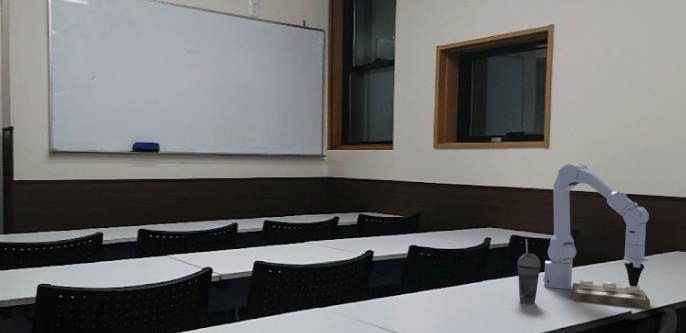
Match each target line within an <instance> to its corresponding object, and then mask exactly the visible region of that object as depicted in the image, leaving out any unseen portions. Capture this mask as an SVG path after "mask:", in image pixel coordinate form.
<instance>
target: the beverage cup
mask: <svg viewBox="0 0 686 333" xmlns="http://www.w3.org/2000/svg"><path fill="white" fill-rule="evenodd" d="M528 248H529V247H528V238H525V252H526V253H523V254H522V255H521V256H519V259H518V260H517V263H516V266H517V273H518V274H517V276H518V294H519V302H520V303H522V304H524V305H525V304H526V305H535V303H536V299H537V290H538V283H539V277H540V276H539V275H540V272H541V268H542V266H541V261H540V259H539V258H538V256H537V255H536V254H534V253H529V250H528Z"/></svg>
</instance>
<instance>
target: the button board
mask: <svg viewBox="0 0 686 333" xmlns="http://www.w3.org/2000/svg"><path fill="white" fill-rule="evenodd" d="M572 286H573V289H572V293H573V294H572V295H573V301H578V302H585V303H595V304H602V305H610V306H611V305H614V306H620V307H621V306H623V307H631V308H640V309H649V310H650V309H651V308H650V306H651V304H650V303H651V301H650V299H649V297H648V296H647V294H646V292H645V291H644V289H640V292H631V291H627V290H626V287H617V286H616V289H607V288H603V285H595V284H593V287H585V286H581V285H580V283H578V282H576V283H574V282H572Z"/></svg>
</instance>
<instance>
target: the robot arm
mask: <svg viewBox="0 0 686 333" xmlns="http://www.w3.org/2000/svg"><path fill="white" fill-rule="evenodd" d="M557 171H558V172H557V174H558V175H557V177H556V179H555V181H554V183H553V186H552V187H553V190H552V191H553V236H552V237H551V238H550V241H549V246H548V249H547V255H548V258H549V259H550V260H545V261H544V276H543V278H542V279H543V280H542V281H543V284H544V285H543V286H544V287H545V288H556V289H564V290H573V282H572V278H573V261H574V260H573V259H574V258H575V257H576V255H577V248H576V246H575V244H574V242H575V241H574V238H573V236H572V235H571V212H570V211H571V206H570V204H571V203H570V191H571V190H572V189H573V188H575V186H577V185H579V184H585V185H589V186H590V188H593V189H594V190H595V191H596V192H598V193H599V194H600V195H602V196H603V197H604V198H606V203H607V205H608V206H609V207H611V208H612V209H613V210H614V211H615V212H617V213H618V215H620V216H621V217H622V218H623V221H624V222H625V226H626V227H625V228H626V229H625V246H624V256H623V259H624V260H625V261H627V262H624V263H623V264H624V266H625V269H626V273H627V277H628V279H627V280H628V284H629V285H630V286H637V285H638V284H639V281H640V277H641V275H642V272H643V271H644V269H645V265H644V264H643V263H644V262H649V258H647V257H645V250H646V249H645V248H646V246H645V245H646V232H647V231H646V225H647V224H646V223H647V222H648V221H649V219H650V214H649V212H648V210H646V208H645V207H643V206H638V205H639V204H638V203H637V202H633V200H631V199H630V198H629V197H628V196H627V195H628V194H627V193H626V192H622V191H620V190H619V191H615V190H613V188H611V187H610V186H609V185H608V184H607V183H606V182H604V180H602V178H600V177H599V176H598V175H597V174H596V173H595V172H594V171H593V170H592V169H590V168H588V167H587V166H586V165H584V164H581V163H580V164H572V163H571V164H570V163H568V164H564V165H563V166H562V167H560V168H559V169H558V170H557ZM638 286H639V285H638Z"/></svg>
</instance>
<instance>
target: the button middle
mask: <svg viewBox="0 0 686 333" xmlns="http://www.w3.org/2000/svg"><path fill="white" fill-rule="evenodd" d="M602 286H603V288H607V289H616V287H617V282H612V281H602Z"/></svg>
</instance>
